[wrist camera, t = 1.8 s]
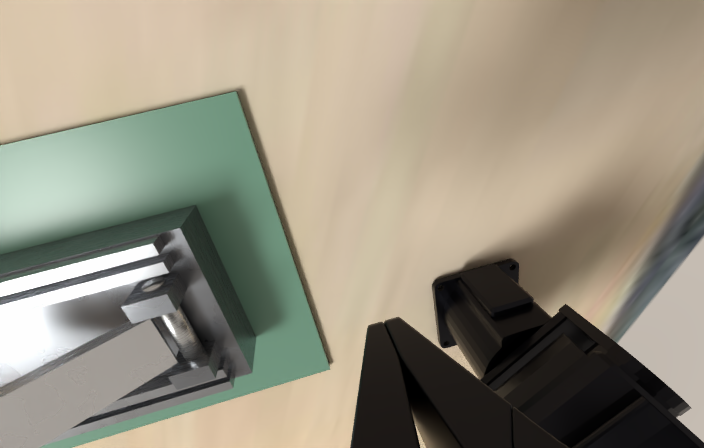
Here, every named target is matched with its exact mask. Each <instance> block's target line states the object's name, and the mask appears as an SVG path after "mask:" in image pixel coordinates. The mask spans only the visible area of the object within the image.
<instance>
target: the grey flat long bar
mask: <svg viewBox="0 0 704 448" xmlns="http://www.w3.org/2000/svg"><path fill="white" fill-rule="evenodd" d="M177 363H178V361H177V359H176V356H175V354H174V352H173V350H172V349H171V347H170V346H169V344H168V342H167V341H166V339H165V338H164V336H163V335H162V333H161V331H160V330H159V328H158V327H157V325H156V324H155V322H154V320H153V319H152V318H151V319H148V320H144V321H141V322H137V323H133V324H132V323H131V321H128V322H126V323H124V324H122V325H120V326H118V327H116V328H114V329H112V330H110V331H108V332H106V333H104V334H103V335H101V336H99V337H97V338H95V339H93V340H91V341H89V342H87V343H85V344H83V345H81V346H79V347H77V348H75V349H73V350H71V351H70V352H68V353H66V354H64V355H62V356H60V357H58V358H56V359H54V360H52V361H50V362H48V363H46V364H44V365H42V366H40V367H38V368H37V369H35V370H33V371H31V372H29V373H27V374H25V375H23V376H21V377H19V378H17V379H15V380H13V381H11V382H9V383H7V384H5V385H4V386H2V387H0V448H40V447H41V446H43V445H45V444H46V443H48V442H50V441H51V440H53V439H55V438H56V437H58V436H59V435H61V434H63V433H64V432H66V431H68V430H69V429H71V428H72V427H74V426H76V425H77V424H79V423H81V422H82V421H84V420H85V419H87V418H89V417H90V416H92V415H94V414H95V413H97V412H99V411H100V410H102V409H103V408H105V407H107V406H108V405H110V404H112V403H113V402H115V401H116V400H118V399H120V398H121V397H123V396H125V395H126V394H128V393H130V392H131V391H133V390H134V389H136V388H138V387H139V386H141V385H143V384H144V383H146V382H147V381H149V380H151V379H152V378H154V377H156V376H157V375H159V374H160V373H162V372H164V371H165V370H167V369H169V368H170V367H172V366H174V365H175V364H177Z"/></svg>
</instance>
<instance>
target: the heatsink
mask: <svg viewBox="0 0 704 448" xmlns="http://www.w3.org/2000/svg"><path fill="white" fill-rule="evenodd" d="M151 318H152V319H153V320H154V322H155V324H156V325H157V327H158V328H159V330H160V331H161V333H162V335H163V336H164V338H165V339H166V341H167V342H168V344H169V346H170V347H171V349H172V350H173V352H174V354H175V356H176V359H177V361H178V363H177V364H175V365H174V366H172V367H170V368H169V369H167V370H165V371H164V372H162V373H160V374H159V375H157V376H156V377H154V378H152V379H151V380H149V381H147V382H146V383H144V384H143V385H141V386H139V387H138V388H136V389H134V390H133V391H131V392H130V393H128V394H126V395H125V396H123V397H121V398H120V399H118V400H116V401H115V402H113V403H112V404H110V405H108V406H107V407H105V408H103V409H102V410H100V411H99V412H97V413H95V414H94V415H92V416H90V417H89V418H87V419H85V420H84V421H82V422H81V423H79V424H77V425H76V426H74V427H72V428H71V429H69V430H68V431H66V432H64V433H63V434H61V435H59V436H58V437H56V438H55V439H53V440H51V441H50V442H48V443H46V444H50V443H53V442H56V441H60V440H63V439H66V438H70V437H73V436H76V435H80V434H83V433H86V432H90V431H93V430H96V429H100V428H103V427H106V426H110V425H113V424H116V423H120V422H123V421H126V420H130V419H133V418H136V417H140V416H143V415H146V414H150V413H153V412H156V411H160V410H163V409H166V408H170V407H173V406H176V405H180V404H183V403H186V402H190V401H193V400H196V399H200V398H203V397H206V396H210V395H213V394H216V393H220V392H223V391H226V390H230V389H233V387H234V381H235V378H237V377H241V376H244V375H247V374H251V373H252V372H253V363H254V354H255V345H256V335H255V333H254V330H253V328H252V326H251V324H250V322H249V320H248V317H247V315H246V313H245V311H244V309H243V306H242V304H241V302H240V300H239V298H238V295H237V293H236V291H235V289H234V287H233V285H232V282H231V280H230V278H229V276H228V274H227V271H226V269H225V267H224V265H223V263H222V261H221V258H220V256H219V254H218V252H217V250H216V247H215V245H214V243H213V241H212V239H211V236H210V234H209V232H208V230H207V228H206V226H205V223H204V221H203V219H202V217H201V215H200V212H199V210H198V208H197V206H196V205H193V206H189V207H185V208H181V209H177V210H174V211H170V212H166V213H162V214H158V215H154V216H150V217H146V218H142V219H138V220H134V221H130V222H126V223H122V224H119V225H115V226H111V227H107V228H103V229H99V230H95V231H91V232H87V233H83V234H79V235H75V236H71V237H67V238H64V239H60V240H56V241H52V242H48V243H44V244H40V245H36V246H32V247H28V248H24V249H20V250H16V251H12V252H9V253H5V254H1V255H0V387H2V386H4V385H5V384H7V383H9V382H11V381H13V380H15V379H17V378H19V377H21V376H23V375H25V374H27V373H29V372H31V371H33V370H35V369H37V368H38V367H40V366H42V365H44V364H46V363H48V362H50V361H52V360H54V359H56V358H58V357H60V356H62V355H64V354H66V353H68V352H70V351H71V350H73V349H75V348H77V347H79V346H81V345H83V344H85V343H87V342H89V341H91V340H93V339H95V338H97V337H99V336H101V335H103V334H104V333H106V332H108V331H110V330H112V329H114V328H116V327H118V326H120V325H122V324H124V323H126V322H128V321H131V323H132V324H133V323H137V322H141V321H144V320H148V319H151ZM46 444H45V445H46Z"/></svg>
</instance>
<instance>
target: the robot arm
mask: <svg viewBox="0 0 704 448" xmlns="http://www.w3.org/2000/svg"><path fill="white" fill-rule="evenodd" d="M511 265H512V266H511ZM510 266H511V267H510ZM518 279H519V263H518V262H516V261H515V260H514V259H507V260H504V261H500V262H497V263H493V264H490V265H486V266H483V267H480V268H476V269H473V270H469V271H466V272H462V273H459V274H455V275H452V276H448V277H445V278H441V279H438V280H436V281H435V282H434V283H433V284H432V290H433V299H434V307H435V316H436V325H437V333H438V342H439V344H440V346H441V347H442V348H448V347H451V346H455V345H458V347H459V348H460V350H461V351H462V353H463V354H464V356H465V358H466V359H467V361H468V362H469V364H470V365H471V367H472V369H473V370H474V372H475V373H476V375H477V376H478V378H479V379H478V378H477V377H475V376H474V375H473V374H471V373H470V372H469V371H468V370H466V369H465V368H464V367H463V366H461V365H460V364H459V363H457V362H456V361H455V360H454V359H452V358H451V357H450V356H448V355H447V354H446V353H445V352H443V351H442V350H441V349H439V348H438V347H437V346H436V345H434V344H433V343H432V342H431V341H429V340H428V339H427V338H425V337H424V336H423V335H422V334H420V333H419V332H418V331H416V330H415V329H414V328H413V327H411V326H410V325H409V324H408V323H406V322H405V321H404V320H402V319H401V318H399V317H396V318H392V319H389V320H386V321H385V322H384V323H383V322H378V323H375V324H371V325H369V326H368V328H367V335H366V342H365V349H364V356H363V363H362V370H361V377H360V384H359V391H358V398H357V405H356V412H355V419H354V426H353V433H352V440H351V447H350V448H420V445H419V440H418V436H417V432H416V427H415V424H416V426H417V428H418V430H419V432H420V435H421V437H422V439H423V441H424V443H425V445H426V448H704V443H703V442H702V441H701V440H700V439H699V438H698V437H697V436H696V435H695V434H693V433H692V432H691V431H690V430H689V429H688V428H687V427H685V426H684V425H683V424H682V423H681V422H680V421H679V420H678V419H677V418H676V417H678V416H679V415H680V416H681V415H682V414H684V413H685V412H686V411H688V410H689V409H690V408H691V407H690V406H689V405H688V404H687V403H686V402H685V401H684V400H683V399H682V398H681V397H680V396H678V395H677V394H676V393H675V392H674V391H673V390H672V389H671V388H670V387H668V386H667V385H666V384H665V383H664V382H663V381H662V380H660V379H659V378H658V377H657V376H656V375H655V374H653V373H652V372H651V371H650V370H648V368H646V367H645V366H644V365H643V364H641V363H640V362H639V361H638V360H637V359H636V358H634V357H633V356H632V355H631V354H629V353H628V352H627V351H626V350H624V349H623V348H622V347H621V346H619V345H618V344H617V343H616V342H614V341H613V340H612V339H610V338H609V337H608V336H607V335H605V334H604V333H603V332H601V331H600V330H599V329H597V328H596V327H595V326H594V325H592V324H591V323H590V322H588V321H587V320H586V319H585V318H583V317H582V316H581V315H579V314H578V313H577V312H576V311H574V310H573V309H572V308H570V307H569V306H568V305H566V304H565V305H564V306H562V307H561V308H560V309H559V312H558V313H557V314H556V315H555V316H553V317H551V316H550V315H548V314H547V313H546V312H545V311H544V310H543V309H542V308H541V307H540V306H539V305H538V304H536V303H535V302H534V299H533V297H532V296H530V295H529V294H528V293H527V292H526V291H525V290H524V289H523V288H522V287H521V286H519V285H518ZM440 285H442V286H441V287H440V288H438V287H439V286H440ZM414 422H415V423H414Z"/></svg>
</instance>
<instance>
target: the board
mask: <svg viewBox="0 0 704 448" xmlns="http://www.w3.org/2000/svg"><path fill="white" fill-rule="evenodd" d="M193 205H196V206H197V208H198V210H199V212H200V215H201V217H202V219H203V221H204V223H205V226H206V228H207V230H208V232H209V234H210V236H211V239H212V241H213V243H214V245H215V247H216V250H217V252H218V254H219V256H220V258H221V261H222V263H223V265H224V267H225V269H226V271H227V274H228V276H229V278H230V280H231V282H232V285H233V287H234V289H235V291H236V293H237V295H238V298H239V300H240V302H241V304H242V306H243V309H244V311H245V313H246V315H247V317H248V320H249V322H250V324H251V326H252V328H253V330H254V333H255V335H256V345H255V354H254V363H253V372H252V373H251V374H247V375H244V376H241V377H237V378H235V381H234V387H233V389H230V390H226V391H223V392H220V393H216V394H213V395H210V396H206V397H203V398H200V399H196V400H193V401H190V402H186V403H183V404H180V405H176V406H173V407H170V408H166V409H163V410H160V411H156V412H153V413H150V414H146V415H143V416H140V417H136V418H133V419H130V420H126V421H123V422H120V423H116V424H113V425H110V426H106V427H103V428H100V429H96V430H93V431H90V432H86V433H83V434H80V435H76V436H73V437H70V438H66V439H63V440H60V441H56V442H53V443H50V444H46V445H43V446H41V447H40V448H72V447H75V446H79V445H82V444H85V443H88V442H92V441H95V440H98V439H102V438H105V437H108V436H112V435H115V434H118V433H122V432H125V431H128V430H131V429H135V428H138V427H141V426H145V425H148V424H151V423H155V422H158V421H161V420H164V419H168V418H171V417H174V416H178V415H181V414H184V413H188V412H191V411H194V410H197V409H201V408H204V407H207V406H211V405H214V404H217V403H221V402H224V401H227V400H230V399H234V398H237V397H240V396H244V395H247V394H250V393H254V392H257V391H260V390H263V389H267V388H270V387H273V386H277V385H280V384H283V383H287V382H290V381H293V380H297V379H300V378H303V377H306V376H310V375H313V374H316V373H320V372H323V371H326V370H330V365H329V362H328V359H327V356H326V353H325V350H324V347H323V344H322V342H321V339H320V336H319V333H318V330H317V327H316V324H315V321H314V318H313V315H312V312H311V309H310V306H309V303H308V300H307V297H306V294H305V291H304V288H303V285H302V282H301V279H300V276H299V273H298V271H297V268H296V265H295V262H294V259H293V256H292V253H291V250H290V247H289V244H288V241H287V238H286V235H285V232H284V229H283V226H282V223H281V220H280V217H279V214H278V211H277V208H276V205H275V202H274V200H273V197H272V194H271V191H270V188H269V185H268V182H267V179H266V176H265V173H264V170H263V167H262V164H261V161H260V158H259V155H258V152H257V149H256V146H255V143H254V140H253V137H252V134H251V131H250V129H249V126H248V123H247V120H246V117H245V114H244V111H243V108H242V105H241V102H240V99H239V96H238V93H237V91H235V92H231V93H226V94H222V95H218V96H213V97H209V98H205V99H200V100H196V101H192V102H187V103H183V104H179V105H174V106H170V107H166V108H161V109H157V110H153V111H148V112H144V113H140V114H135V115H131V116H126V117H122V118H118V119H113V120H109V121H105V122H100V123H96V124H92V125H87V126H83V127H79V128H74V129H70V130H66V131H61V132H57V133H53V134H48V135H44V136H39V137H35V138H31V139H26V140H22V141H18V142H13V143H9V144H5V145H0V255H1V254H5V253H9V252H12V251H16V250H20V249H24V248H28V247H32V246H36V245H40V244H44V243H48V242H52V241H56V240H60V239H64V238H67V237H71V236H75V235H79V234H83V233H87V232H91V231H95V230H99V229H103V228H107V227H111V226H115V225H119V224H122V223H126V222H130V221H134V220H138V219H142V218H146V217H150V216H154V215H158V214H162V213H166V212H170V211H174V210H177V209H181V208H185V207H189V206H193Z"/></svg>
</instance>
